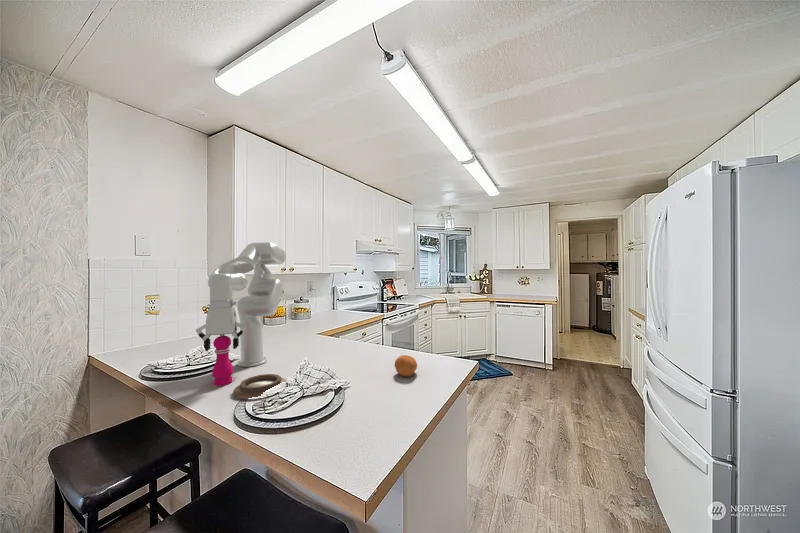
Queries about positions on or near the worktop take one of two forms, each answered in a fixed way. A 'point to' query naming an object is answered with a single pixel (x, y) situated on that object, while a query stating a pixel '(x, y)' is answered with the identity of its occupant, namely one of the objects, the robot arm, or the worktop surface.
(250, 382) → the round tray
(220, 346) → the pepper mill
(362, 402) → the worktop surface
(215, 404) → the worktop surface
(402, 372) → the potato
